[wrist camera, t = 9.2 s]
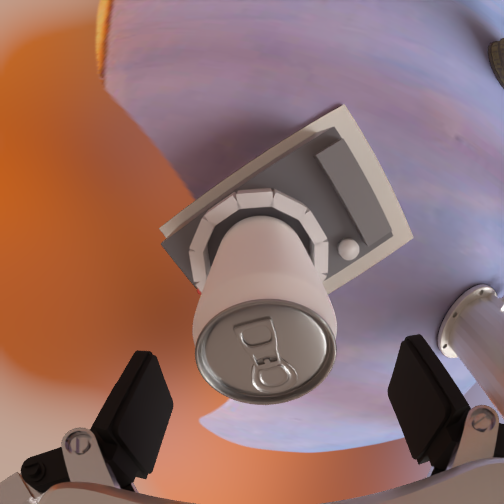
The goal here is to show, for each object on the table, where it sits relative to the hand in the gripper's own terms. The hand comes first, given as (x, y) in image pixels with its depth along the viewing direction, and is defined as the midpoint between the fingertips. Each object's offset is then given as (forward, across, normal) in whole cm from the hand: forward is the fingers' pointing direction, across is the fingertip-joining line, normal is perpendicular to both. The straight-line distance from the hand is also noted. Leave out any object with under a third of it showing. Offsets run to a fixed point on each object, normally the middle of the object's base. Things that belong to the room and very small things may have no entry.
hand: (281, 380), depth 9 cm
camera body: (+19, 0, -2) cm, 19 cm away
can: (+13, +1, 0) cm, 13 cm away
